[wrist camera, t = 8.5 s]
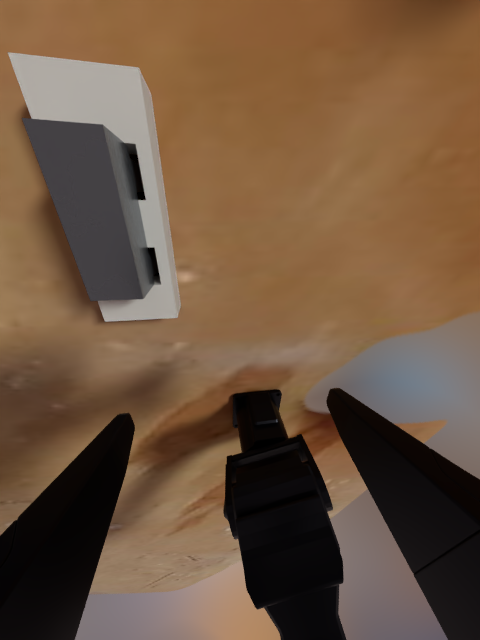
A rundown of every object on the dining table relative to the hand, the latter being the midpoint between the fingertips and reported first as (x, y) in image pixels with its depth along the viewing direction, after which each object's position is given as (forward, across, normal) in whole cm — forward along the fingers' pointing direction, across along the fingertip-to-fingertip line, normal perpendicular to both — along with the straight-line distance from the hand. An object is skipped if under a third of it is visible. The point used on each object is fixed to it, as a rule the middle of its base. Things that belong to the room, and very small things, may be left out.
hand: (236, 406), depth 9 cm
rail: (+12, +6, -7) cm, 15 cm away
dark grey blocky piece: (+11, +6, -7) cm, 15 cm away
